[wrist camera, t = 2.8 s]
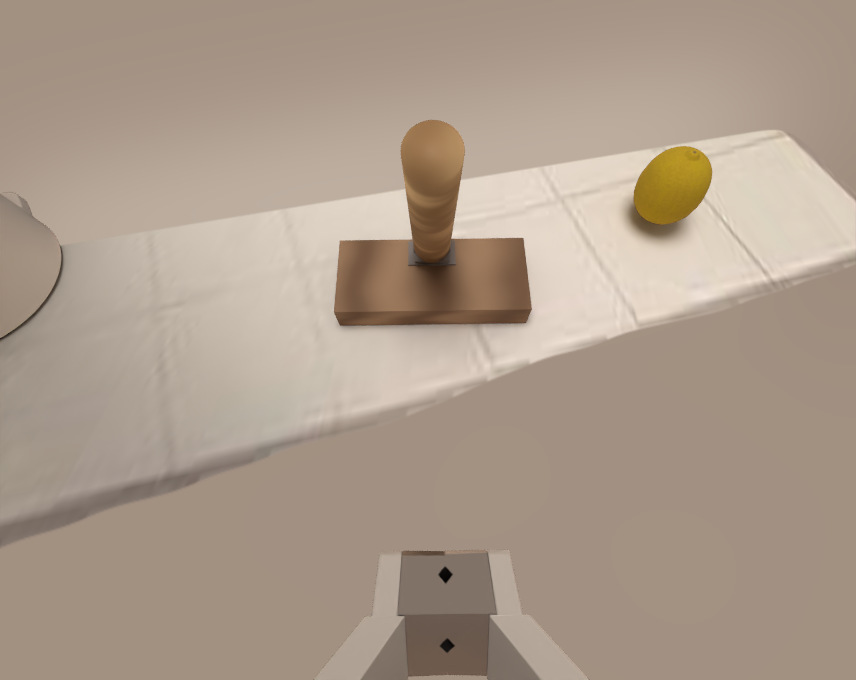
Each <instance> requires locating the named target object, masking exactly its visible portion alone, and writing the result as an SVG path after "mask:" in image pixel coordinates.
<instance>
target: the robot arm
mask: <svg viewBox="0 0 856 680" xmlns="http://www.w3.org/2000/svg"><path fill="white" fill-rule="evenodd" d="M60 266H61V249H60V245H59V242H58V240H57V238H56V236H55V235H54V233H53V232H52V231H51V230H50V229H49V228H48V227H47V226H46V225H44V224H43V223H41V222H40V221H38V220H37V219H35V218H34V217H33V216H32V213H31V211H30V208H29V206H28V204H27V202H26V201H25V200H24V199H23V198H21V197H20V196H18V195H17V194H15V193H13V192H5V193H0V338H1V337H3V336H4V335H6V334H8V333H9V332H11V331H12V330H14V329H15V328H17V327H18V326H19V325H21V324H22V323H23V322H24V321H26V320H27V319H28V318H29V317H30V316H31V315H32V314H33V313H34V312H35V311H36V310H37V309H38V308H39V307H40V305H41V304H42V303H43V302H44V300H45V299H46V298H47V296H48V295H49V293H50V292H51V290H52V288H53V286H54V284H55V282H56V280H57V277H58V274H59V271H60ZM447 674H448V675H482V676H483V675H484V676H487V679H488V680H589V679H588V678H587V677H586V675H585V674H584V673H583V672H582V671H581V670H580V669H579V668H578V667H577V666H576V665H575V663H574V662H573V661H572V660H571V659H570V658H569V657H568V656H567V655H566V653H565V652H564V651H563V650H562V649H561V648H560V647H559V646H558V645H557V644H556V643H555V641H554V640H553V639H552V638H551V637H550V636H549V635H548V634H547V633H546V632H545V630H544V629H543V628H542V627H541V626H540V625H539V624H538V623H537V622H536V621H535V619H533V617H532V616H531V615H526V614H525V615H524V614H523V611H522V606H521V602H520V597H519V592H518V588H517V583H516V578H515V573H514V569H513V564H512V560H511V555H510V552H509V551H508V550H487V551H486V550H463V551H403V552H402V551H381V553H380V555H379V561H378V568H377V575H376V583H375V591H374V599H373V606H372V614H371V616H368V617H367V616H366V617H364V618H363V619H362V620H361V622H360V623H359V624H358V625H357V627H356V628H355V629H354V630H353V631H352V633H351V634H350V635H349V636H348V638H347V639H346V640H345V642H344V643H343V644H342V645H341V646H340V648H339V649H338V650H337V652H336V653H335V654H334V655H333V656H332V658H331V659H330V660H329V661H328V662H327V664H326V665H325V666H324V667H323V669H322V670H321V671H320V672H319V674H318V675H317V676H316V677H315V679H314V680H408V676H429V675H447Z"/></svg>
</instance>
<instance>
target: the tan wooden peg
mask: <svg viewBox="0 0 856 680" xmlns="http://www.w3.org/2000/svg"><path fill="white" fill-rule="evenodd" d="M464 153H465V148H464V142H463V140H462V138H461V136H460V134H459V133H458V131H457V130H456V129H455V128H453V127H452V126H451V125H449V124H447V123H445V122H442V121H438V120H428V121H423V122H420V123H418V124H416V125H415V126H413V127H412V128H411V129H410V130H409V131H408V132H407V134H406V135H405V137H404V139H403V141H402V145H401V159H402V166H403V173H404V180H405V188H406V195H407V202H408V209H409V217H410V224H411V231H412V238H413V245H414V253H415V263H449V253H450V243H451V237H452V230H453V224H454V218H455V211H456V205H457V199H458V193H459V186H460V180H461V174H462V167H463V161H464V155H465V154H464Z"/></svg>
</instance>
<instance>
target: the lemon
mask: <svg viewBox="0 0 856 680" xmlns="http://www.w3.org/2000/svg"><path fill="white" fill-rule="evenodd" d="M711 178H712V168H711V164H710V162H709V160H708V158H707V157H706V156H705V155H704V153H702V152H701V151H699V150H697V149H695V148H692V147H686V146H681V147H674V148H671V149H668V150H666V151H664V152H662V153H661V154H659V155H658V156H657V157H655V158H654V159H653V160H652V161H651V162H650V163H649V164H648V166H647V167H646V168H645V169H644V171H643V172H642V173H641V175H640V177H639V179H638V181H637V184H636V186H635V190H634V204H635V207H636V209H637V211H638V213H639V214H640V215H641V216H642V217H643V218H644V219H646V220H647V221H649V222H652V223H655V224H670V223H674V222H677V221H679V220H681V219H683V218H685V217H686V216H688V215H689V214H690V213H691V212H692V211H693V210H694V209H696V208H697V207H698V205H699V204H700V203H701V201H702V200H703V198H704V196H705V195H706V193H707V191H708V188H709V186H710V183H711Z"/></svg>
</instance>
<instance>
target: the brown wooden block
mask: <svg viewBox="0 0 856 680" xmlns="http://www.w3.org/2000/svg"><path fill="white" fill-rule="evenodd" d="M531 310H532V308H531V300H530V291H529V283H528V274H527V265H526V257H525V248H524V240H523V238H490V239H451V243H450V253H449V263H415V253H414V245H413V240H355V241H340V246H339V259H338V271H337V283H336V295H335V307H334V313H335V315H336V318H337V320H338V322H339V324H340V325H404V324H476V323H526V321H527V319H528V316H529V314H530V312H531Z"/></svg>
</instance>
